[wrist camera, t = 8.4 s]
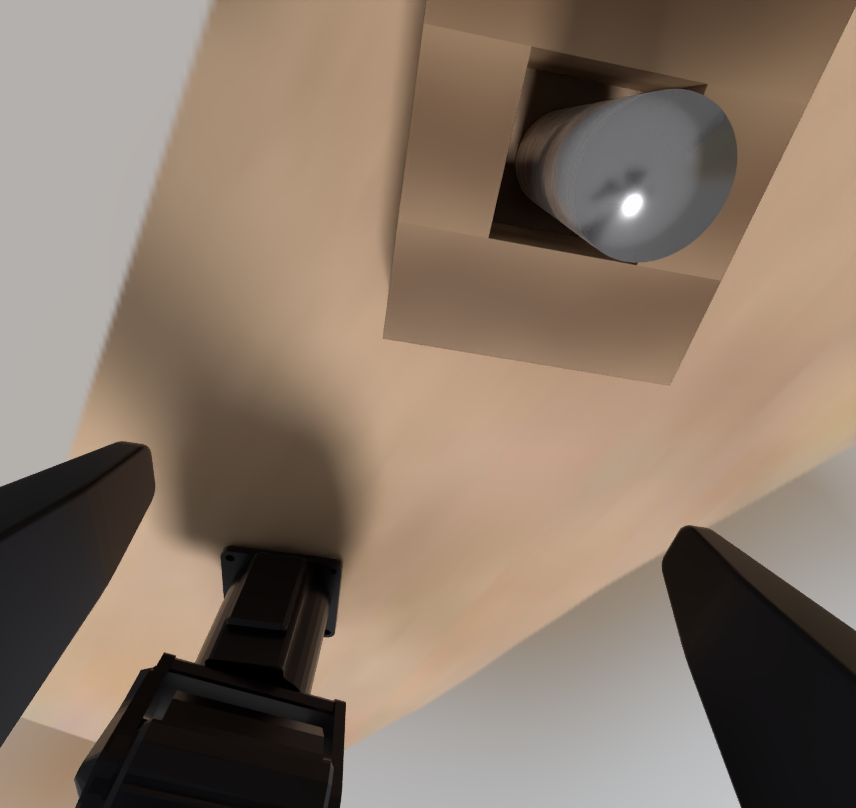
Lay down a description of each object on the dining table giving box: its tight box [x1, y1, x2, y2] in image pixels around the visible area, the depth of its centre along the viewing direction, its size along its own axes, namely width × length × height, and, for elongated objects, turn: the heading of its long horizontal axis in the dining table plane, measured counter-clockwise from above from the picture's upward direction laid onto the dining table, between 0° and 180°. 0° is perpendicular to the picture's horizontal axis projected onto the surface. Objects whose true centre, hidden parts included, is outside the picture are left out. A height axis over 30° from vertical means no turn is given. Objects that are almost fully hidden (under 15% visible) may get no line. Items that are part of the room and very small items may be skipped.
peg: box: [516, 89, 737, 263], centre depth 12 cm, size 3×3×8 cm
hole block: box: [383, 0, 856, 386], centre depth 14 cm, size 12×10×4 cm
